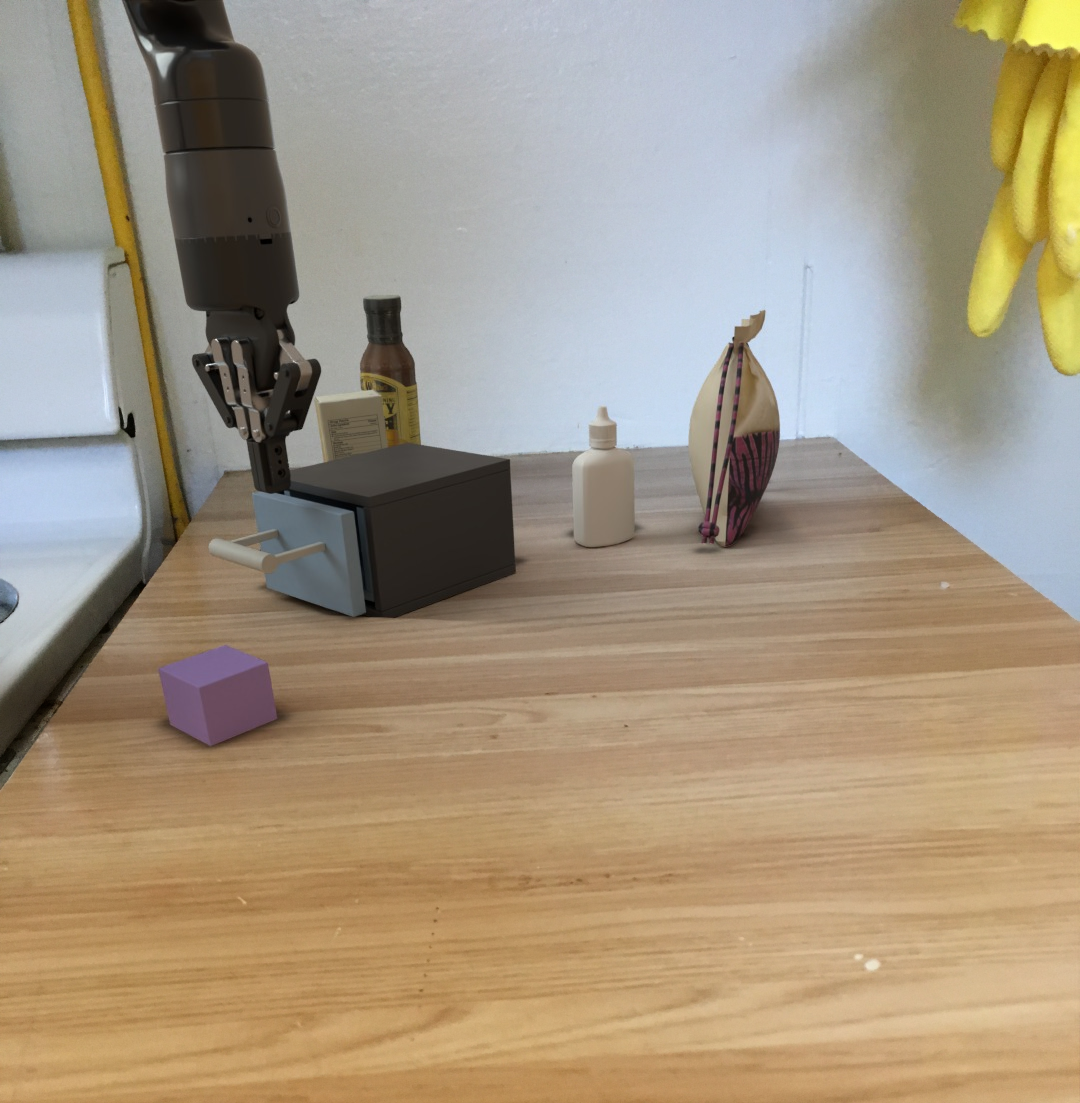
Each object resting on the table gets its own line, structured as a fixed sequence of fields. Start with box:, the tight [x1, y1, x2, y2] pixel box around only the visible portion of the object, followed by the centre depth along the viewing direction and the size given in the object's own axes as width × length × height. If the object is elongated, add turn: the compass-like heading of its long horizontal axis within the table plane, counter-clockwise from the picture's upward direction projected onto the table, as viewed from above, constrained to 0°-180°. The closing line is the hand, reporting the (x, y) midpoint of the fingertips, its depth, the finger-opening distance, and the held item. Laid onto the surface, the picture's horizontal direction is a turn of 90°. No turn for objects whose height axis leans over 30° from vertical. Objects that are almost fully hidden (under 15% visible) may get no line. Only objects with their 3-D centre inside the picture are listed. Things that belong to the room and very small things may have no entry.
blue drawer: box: [208, 489, 375, 618], centre depth 84 cm, size 19×11×8 cm, turn 137°
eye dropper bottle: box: [571, 405, 636, 548], centre depth 95 cm, size 4×6×12 cm
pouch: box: [688, 309, 781, 548], centre depth 97 cm, size 25×8×19 cm, turn 168°
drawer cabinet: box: [277, 443, 517, 619], centre depth 87 cm, size 15×13×10 cm
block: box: [157, 644, 278, 747], centre depth 63 cm, size 5×5×5 cm
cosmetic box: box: [313, 390, 388, 463], centre depth 106 cm, size 6×4×12 cm
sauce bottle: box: [359, 294, 422, 447], centre depth 118 cm, size 6×6×20 cm
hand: (273, 490), depth 78 cm, fingers closed
